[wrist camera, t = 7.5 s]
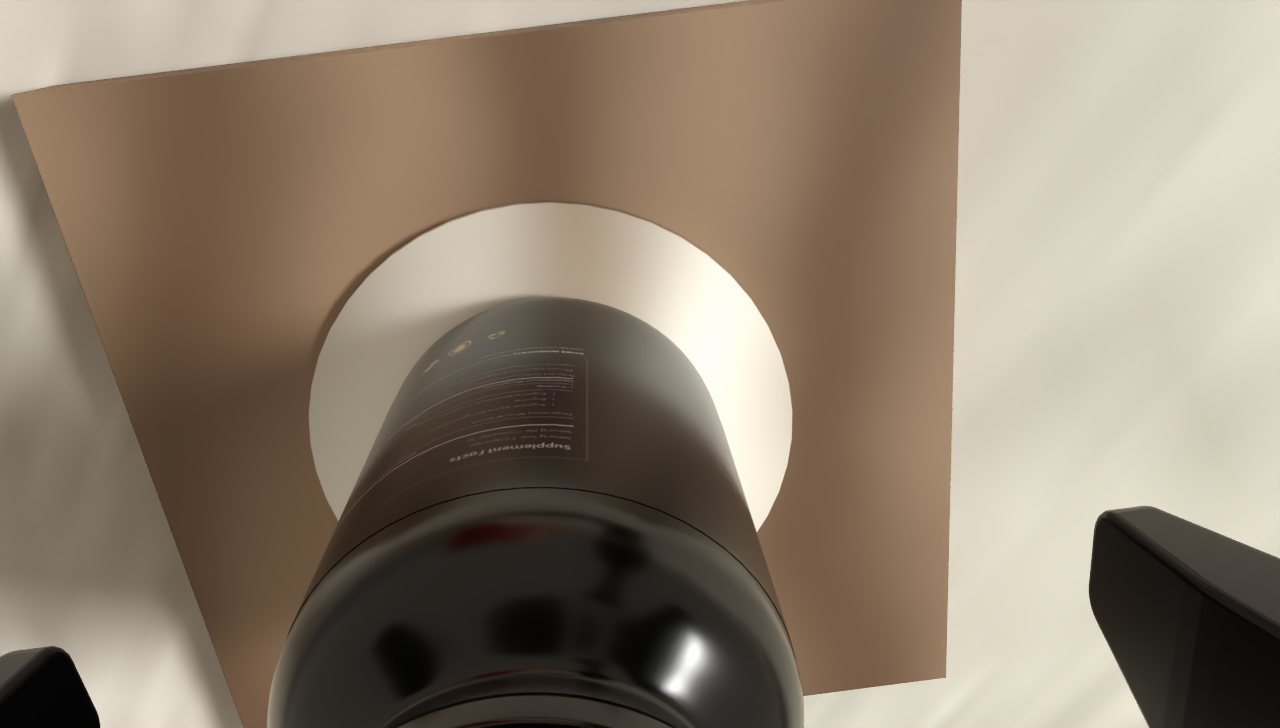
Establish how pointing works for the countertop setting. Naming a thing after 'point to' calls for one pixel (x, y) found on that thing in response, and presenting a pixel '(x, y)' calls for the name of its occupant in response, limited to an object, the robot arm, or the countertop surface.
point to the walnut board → (541, 280)
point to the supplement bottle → (544, 547)
